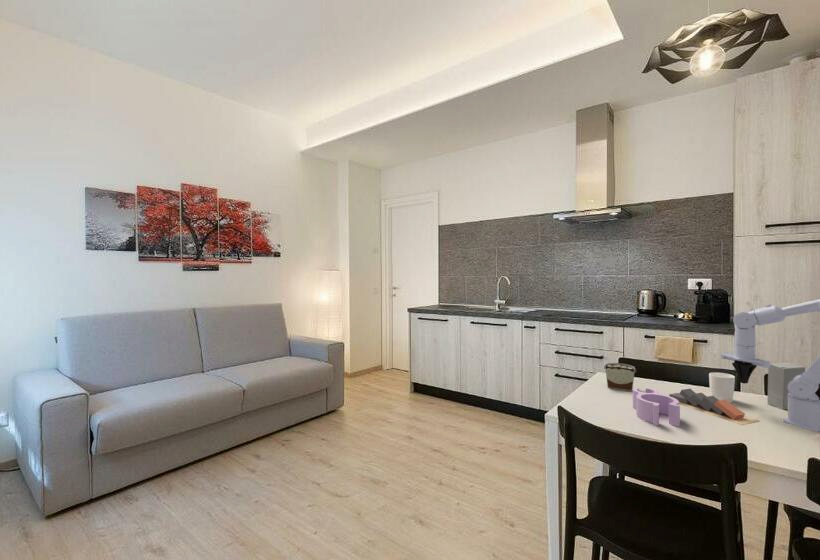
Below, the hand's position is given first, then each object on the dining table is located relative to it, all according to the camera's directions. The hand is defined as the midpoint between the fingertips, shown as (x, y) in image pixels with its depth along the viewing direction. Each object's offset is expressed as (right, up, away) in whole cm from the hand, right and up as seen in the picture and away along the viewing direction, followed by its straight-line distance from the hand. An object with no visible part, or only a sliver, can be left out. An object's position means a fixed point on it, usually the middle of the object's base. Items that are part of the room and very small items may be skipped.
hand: (743, 382), depth 141 cm
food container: (-28, -10, +31) cm, 43 cm away
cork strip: (-11, -11, +2) cm, 15 cm away
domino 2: (-12, -9, +5) cm, 16 cm away
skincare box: (+19, -10, +4) cm, 22 cm away
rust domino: (-8, -10, -7) cm, 14 cm away
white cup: (+2, -10, +12) cm, 16 cm away
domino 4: (-9, -10, -3) cm, 14 cm away
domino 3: (-10, -10, +1) cm, 14 cm away
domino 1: (-13, -9, +8) cm, 18 cm away
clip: (-33, -11, -1) cm, 35 cm away
